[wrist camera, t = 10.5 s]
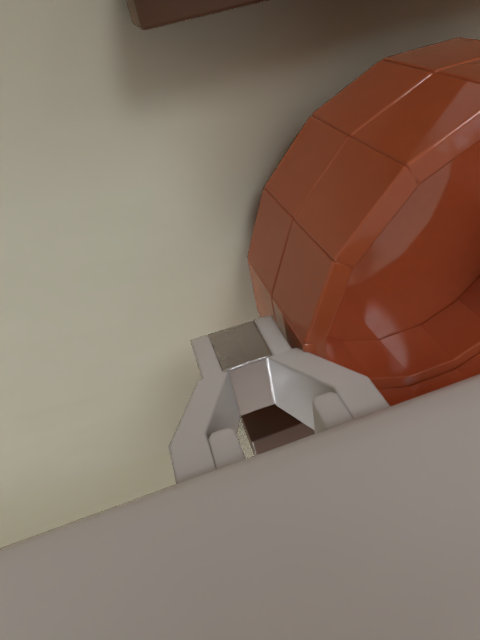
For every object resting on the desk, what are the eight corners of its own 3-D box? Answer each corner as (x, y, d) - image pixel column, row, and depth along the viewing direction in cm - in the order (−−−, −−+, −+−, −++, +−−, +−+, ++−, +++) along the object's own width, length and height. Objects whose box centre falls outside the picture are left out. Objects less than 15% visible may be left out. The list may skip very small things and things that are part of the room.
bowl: (209, 98, 11) (281, 157, 8) (581, -4, 13) (800, 2, 9) (269, 386, 19) (320, 490, 15) (502, 301, 20) (606, 376, 16)
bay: (114, -43, 9) (121, -46, 8) (708, -174, 11) (787, -194, 10) (244, 428, 20) (255, 458, 18) (539, 320, 22) (567, 340, 20)
